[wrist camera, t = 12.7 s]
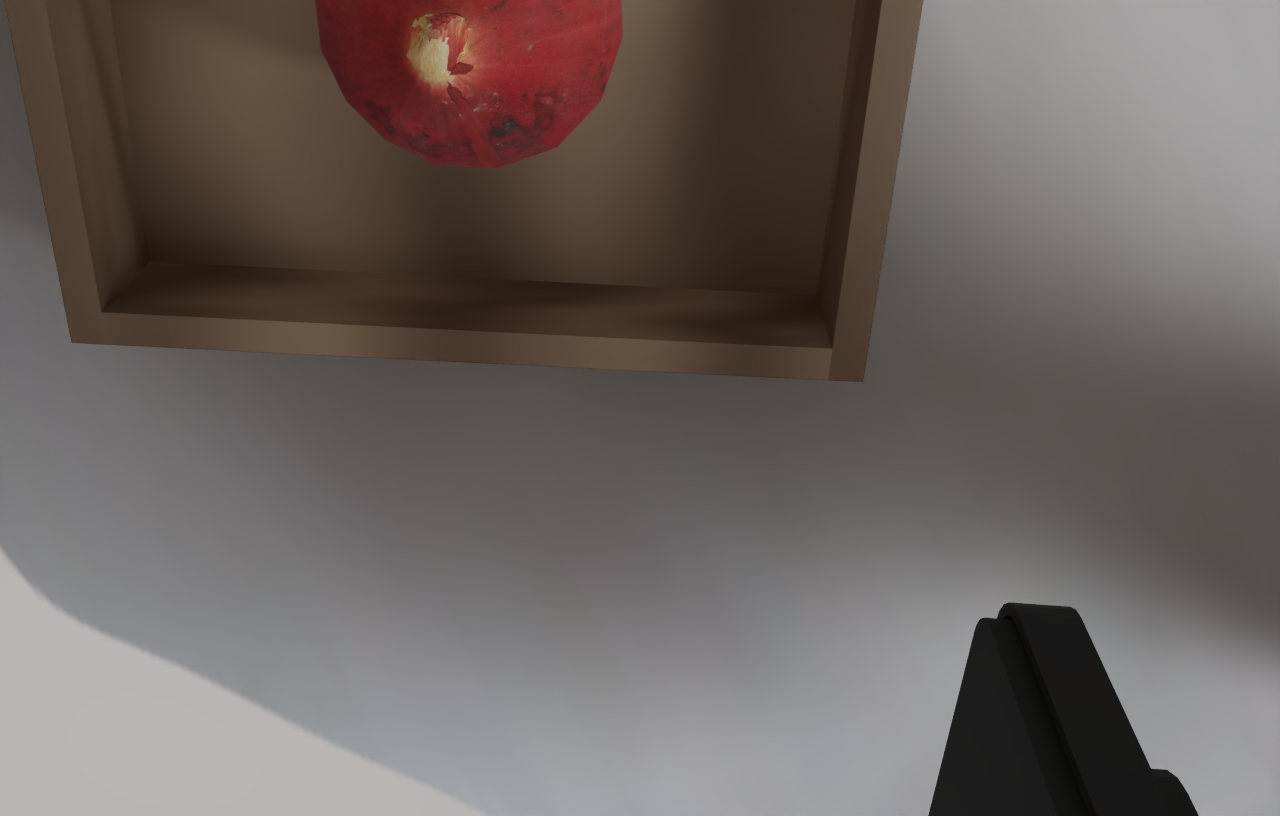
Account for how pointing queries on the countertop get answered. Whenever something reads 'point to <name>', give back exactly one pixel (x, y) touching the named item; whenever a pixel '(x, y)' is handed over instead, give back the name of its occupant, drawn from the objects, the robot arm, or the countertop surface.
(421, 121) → the onion
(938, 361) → the countertop surface
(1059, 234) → the countertop surface
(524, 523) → the countertop surface
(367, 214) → the holder tray
